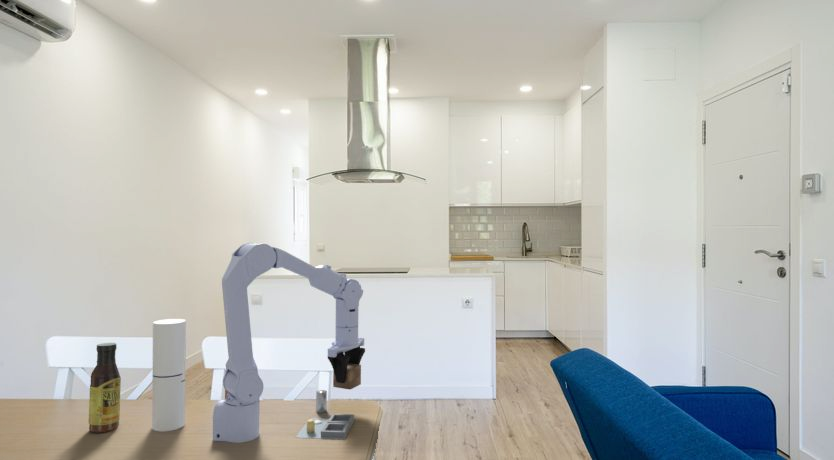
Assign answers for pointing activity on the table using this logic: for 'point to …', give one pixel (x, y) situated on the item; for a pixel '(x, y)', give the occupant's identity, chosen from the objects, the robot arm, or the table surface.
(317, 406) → the pin
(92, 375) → the sauce bottle
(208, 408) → the table surface
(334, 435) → the board
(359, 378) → the wooden toy block
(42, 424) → the table surface
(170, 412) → the cylindrical container
